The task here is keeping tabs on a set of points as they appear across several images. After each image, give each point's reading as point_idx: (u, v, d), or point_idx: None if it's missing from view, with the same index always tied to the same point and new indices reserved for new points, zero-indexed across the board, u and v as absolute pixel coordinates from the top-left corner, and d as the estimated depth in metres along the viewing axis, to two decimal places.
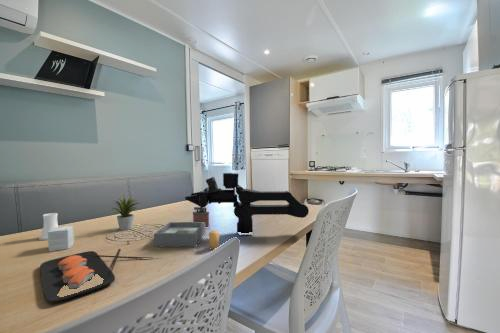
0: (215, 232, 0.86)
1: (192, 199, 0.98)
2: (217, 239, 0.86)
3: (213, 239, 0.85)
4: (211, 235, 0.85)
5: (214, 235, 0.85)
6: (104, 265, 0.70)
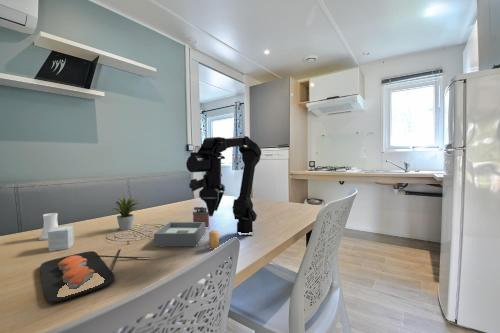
0: (215, 232, 0.86)
1: (211, 207, 0.80)
2: (217, 239, 0.86)
3: (213, 239, 0.85)
4: (211, 235, 0.85)
5: (214, 235, 0.85)
6: (104, 265, 0.70)
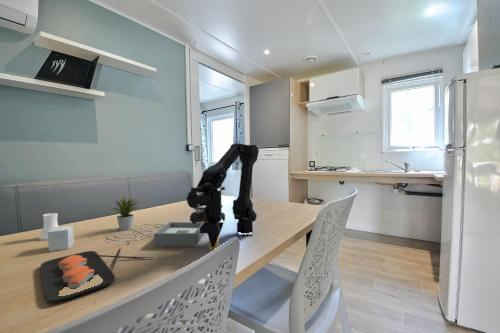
0: None
1: (213, 238, 0.83)
2: (217, 239, 0.86)
3: None
4: None
5: None
6: (104, 265, 0.70)
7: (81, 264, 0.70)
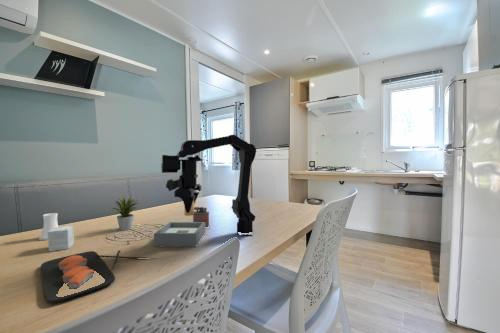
0: None
1: (188, 204, 0.89)
2: (192, 206, 0.92)
3: None
4: None
5: None
6: (104, 265, 0.71)
7: (81, 264, 0.70)
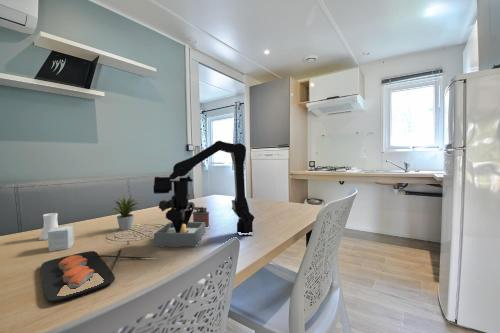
0: (182, 225, 0.96)
1: (177, 226, 0.90)
2: (184, 231, 0.95)
3: (180, 231, 0.94)
4: None
5: None
6: (104, 265, 0.71)
7: (81, 264, 0.70)
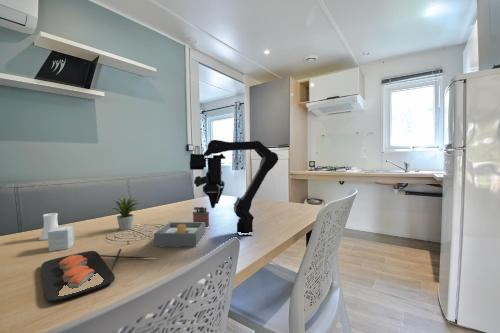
0: (182, 225, 0.96)
1: (213, 200, 0.94)
2: (184, 231, 0.95)
3: (180, 231, 0.94)
4: (178, 227, 0.94)
5: (181, 227, 0.94)
6: (104, 265, 0.71)
7: (81, 264, 0.70)
